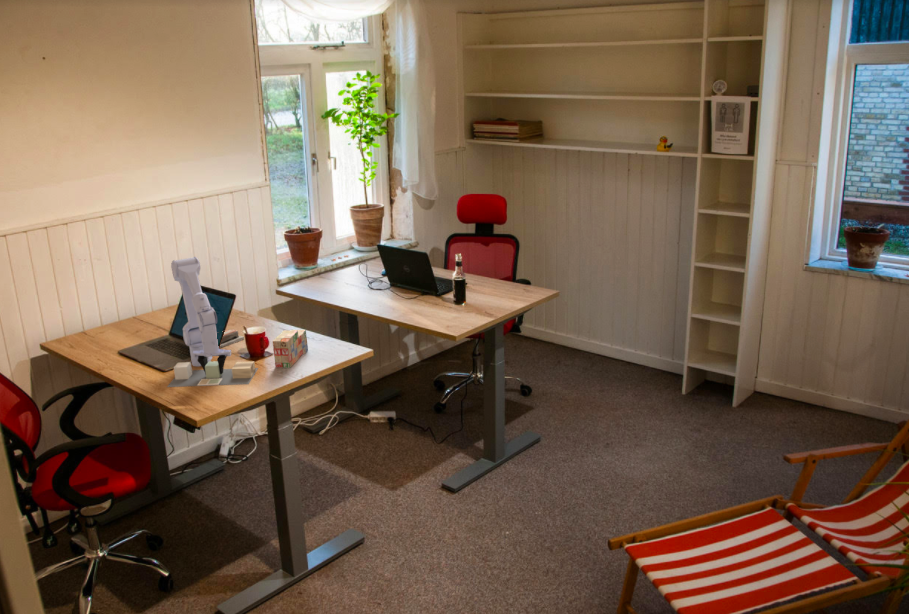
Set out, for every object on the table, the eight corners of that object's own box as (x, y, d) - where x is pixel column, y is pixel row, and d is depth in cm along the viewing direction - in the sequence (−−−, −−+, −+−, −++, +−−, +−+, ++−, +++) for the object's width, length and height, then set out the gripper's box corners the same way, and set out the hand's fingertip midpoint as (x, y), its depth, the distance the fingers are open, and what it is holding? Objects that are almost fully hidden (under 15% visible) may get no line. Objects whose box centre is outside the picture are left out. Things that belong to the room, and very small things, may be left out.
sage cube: (210, 373, 305) (208, 361, 304) (223, 372, 305) (221, 361, 304) (206, 378, 300) (204, 366, 299) (219, 378, 300) (217, 366, 299)
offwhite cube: (179, 374, 305) (177, 362, 304) (192, 374, 305) (190, 362, 304) (175, 379, 300) (173, 367, 299) (188, 379, 300) (186, 367, 299)
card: (201, 379, 299) (201, 378, 299) (222, 379, 299) (222, 378, 299) (197, 385, 294) (197, 384, 294) (218, 385, 294) (218, 384, 294)
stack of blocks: (294, 350, 329) (291, 322, 325) (308, 350, 328) (305, 322, 324) (275, 369, 309) (272, 340, 305) (290, 370, 308) (287, 340, 304)
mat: (180, 372, 309) (180, 370, 309) (258, 369, 309) (258, 367, 309) (166, 388, 294) (166, 387, 294) (248, 386, 294) (248, 384, 294)
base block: (237, 371, 306) (236, 362, 305) (255, 370, 306) (254, 361, 305) (233, 378, 299) (231, 368, 298) (251, 377, 299) (249, 368, 298)
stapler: (209, 342, 329) (195, 338, 335) (210, 352, 330) (196, 348, 336) (243, 329, 342) (229, 325, 348) (244, 340, 344) (230, 336, 350)
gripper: (187, 345, 295) (192, 378, 299) (225, 343, 294) (230, 376, 299) (193, 338, 301) (198, 371, 305) (230, 337, 301) (235, 369, 305)
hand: (214, 373), depth 303 cm, fingers closed on sage cube, 5 cm apart
